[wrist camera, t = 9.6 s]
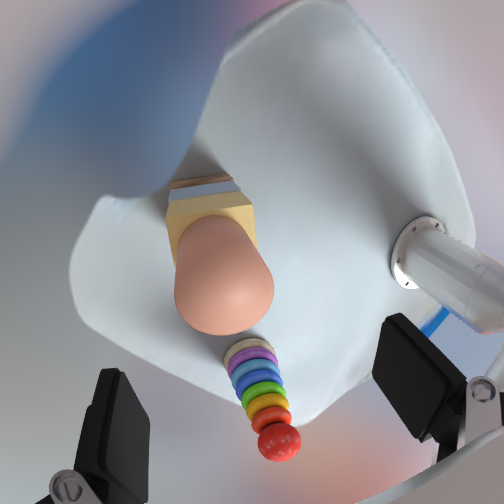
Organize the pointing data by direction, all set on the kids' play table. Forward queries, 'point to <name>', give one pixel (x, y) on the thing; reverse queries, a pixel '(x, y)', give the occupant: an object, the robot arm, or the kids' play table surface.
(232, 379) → the stacking toy
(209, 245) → the cylinder
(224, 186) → the tower mid
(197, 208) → the tower top
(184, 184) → the tower base
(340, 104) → the kids' play table surface
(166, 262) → the kids' play table surface
